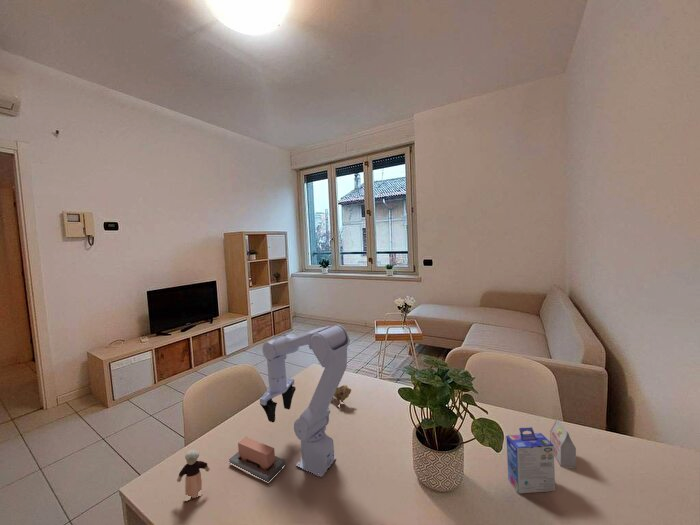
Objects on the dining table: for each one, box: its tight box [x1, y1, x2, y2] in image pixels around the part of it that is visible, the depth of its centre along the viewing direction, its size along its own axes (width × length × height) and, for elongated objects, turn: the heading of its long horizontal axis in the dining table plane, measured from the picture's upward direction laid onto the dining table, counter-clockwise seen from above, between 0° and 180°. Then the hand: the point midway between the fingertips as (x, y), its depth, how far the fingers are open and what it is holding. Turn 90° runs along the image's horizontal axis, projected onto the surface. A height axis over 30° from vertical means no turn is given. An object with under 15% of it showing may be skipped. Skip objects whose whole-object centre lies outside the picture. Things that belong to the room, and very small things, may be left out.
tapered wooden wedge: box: [237, 436, 276, 471], centre depth 86 cm, size 12×3×6 cm, turn 62°
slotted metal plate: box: [228, 451, 286, 482], centre depth 86 cm, size 16×7×2 cm, turn 62°
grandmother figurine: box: [176, 448, 211, 499], centre depth 76 cm, size 8×4×13 cm, turn 126°
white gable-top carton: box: [549, 418, 577, 469], centre depth 83 cm, size 4×7×10 cm, turn 166°
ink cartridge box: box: [505, 426, 556, 494], centre depth 74 cm, size 10×6×14 cm, turn 92°
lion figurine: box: [333, 384, 352, 406], centre depth 118 cm, size 15×5×9 cm, turn 48°
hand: (279, 414), depth 95 cm, fingers open, 7 cm apart
